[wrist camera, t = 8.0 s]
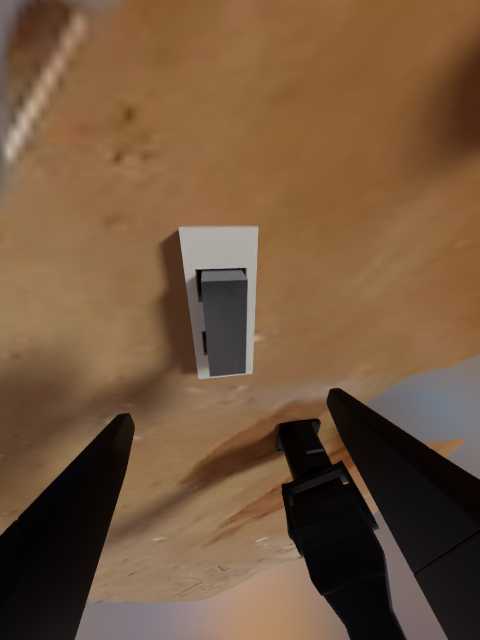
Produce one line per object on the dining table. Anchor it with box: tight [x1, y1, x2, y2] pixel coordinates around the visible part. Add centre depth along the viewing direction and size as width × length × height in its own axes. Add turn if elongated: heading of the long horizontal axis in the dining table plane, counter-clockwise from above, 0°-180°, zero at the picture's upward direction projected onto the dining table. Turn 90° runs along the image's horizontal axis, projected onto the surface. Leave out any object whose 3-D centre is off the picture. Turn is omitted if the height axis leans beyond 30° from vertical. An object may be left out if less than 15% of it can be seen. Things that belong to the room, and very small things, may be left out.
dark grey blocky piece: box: [201, 269, 248, 377], centre depth 17 cm, size 8×3×5 cm, turn 0°
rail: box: [178, 226, 258, 379], centre depth 18 cm, size 14×6×2 cm, turn 0°
